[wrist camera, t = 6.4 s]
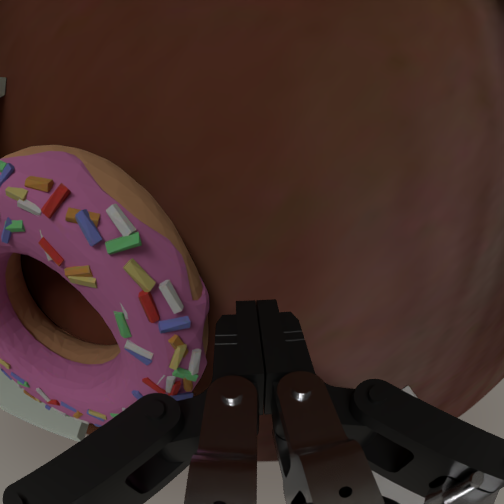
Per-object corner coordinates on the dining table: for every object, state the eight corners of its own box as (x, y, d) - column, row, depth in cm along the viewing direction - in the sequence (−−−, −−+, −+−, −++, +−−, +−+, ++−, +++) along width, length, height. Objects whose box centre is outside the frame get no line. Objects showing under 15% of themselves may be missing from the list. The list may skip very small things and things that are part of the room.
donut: (42, 360, 14) (16, 408, 10) (-24, 172, 8) (-82, 198, 4) (225, 380, 15) (225, 451, 11) (206, 116, 9) (181, 102, 5)
